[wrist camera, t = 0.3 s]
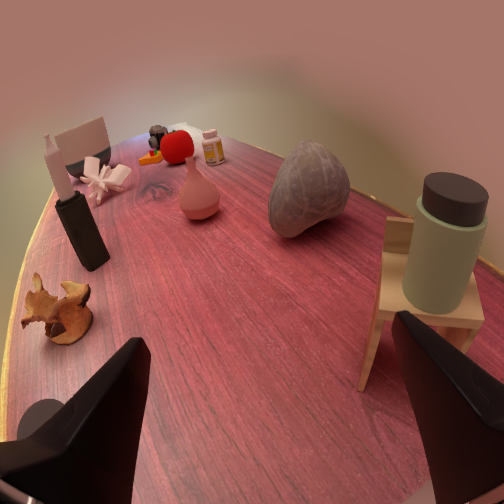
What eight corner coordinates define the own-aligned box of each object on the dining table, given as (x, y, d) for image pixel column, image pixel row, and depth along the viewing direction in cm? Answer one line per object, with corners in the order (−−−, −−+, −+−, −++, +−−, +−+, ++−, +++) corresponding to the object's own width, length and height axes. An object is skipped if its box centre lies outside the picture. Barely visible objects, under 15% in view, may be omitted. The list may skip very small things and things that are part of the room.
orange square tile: (140, 165, 98) (136, 154, 96) (150, 157, 104) (148, 147, 102) (158, 162, 96) (155, 151, 93) (168, 154, 102) (166, 144, 100)
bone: (42, 363, 31) (7, 321, 26) (40, 321, 38) (13, 281, 33) (111, 328, 36) (82, 281, 31) (99, 290, 43) (77, 247, 38)
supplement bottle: (222, 158, 87) (216, 127, 81) (227, 162, 83) (221, 129, 77) (204, 163, 86) (198, 132, 80) (209, 167, 81) (202, 134, 76)
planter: (64, 192, 93) (46, 140, 80) (78, 175, 109) (64, 130, 97) (112, 175, 95) (95, 119, 83) (120, 160, 112) (107, 113, 100)
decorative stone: (323, 203, 55) (318, 125, 46) (366, 224, 47) (369, 135, 38) (257, 235, 49) (242, 146, 40) (299, 264, 41) (291, 159, 33)
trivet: (76, 483, 18) (64, 478, 17) (21, 463, 18) (9, 456, 17) (91, 411, 25) (81, 403, 24) (38, 402, 26) (28, 394, 25)
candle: (80, 264, 50) (30, 141, 36) (101, 250, 53) (55, 128, 39) (90, 273, 47) (35, 139, 33) (112, 257, 50) (63, 126, 36)
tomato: (192, 164, 86) (184, 131, 80) (160, 170, 88) (152, 138, 82) (200, 154, 95) (193, 123, 89) (171, 159, 96) (163, 129, 90)
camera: (145, 149, 118) (140, 128, 113) (159, 144, 122) (154, 123, 116) (158, 152, 108) (152, 129, 103) (173, 147, 111) (167, 123, 106)
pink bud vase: (227, 219, 55) (214, 157, 48) (186, 231, 53) (169, 169, 46) (218, 203, 61) (206, 148, 54) (182, 213, 60) (167, 158, 53)
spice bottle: (472, 306, 16) (507, 202, 12) (418, 321, 16) (448, 208, 12) (442, 264, 20) (462, 169, 16) (392, 273, 20) (405, 171, 16)
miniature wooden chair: (434, 399, 22) (500, 287, 13) (357, 391, 25) (385, 274, 16) (435, 342, 27) (477, 227, 18) (367, 335, 30) (386, 215, 21)
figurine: (116, 222, 80) (129, 187, 87) (121, 197, 71) (135, 161, 79) (70, 209, 74) (87, 175, 82) (70, 182, 65) (89, 148, 73)
